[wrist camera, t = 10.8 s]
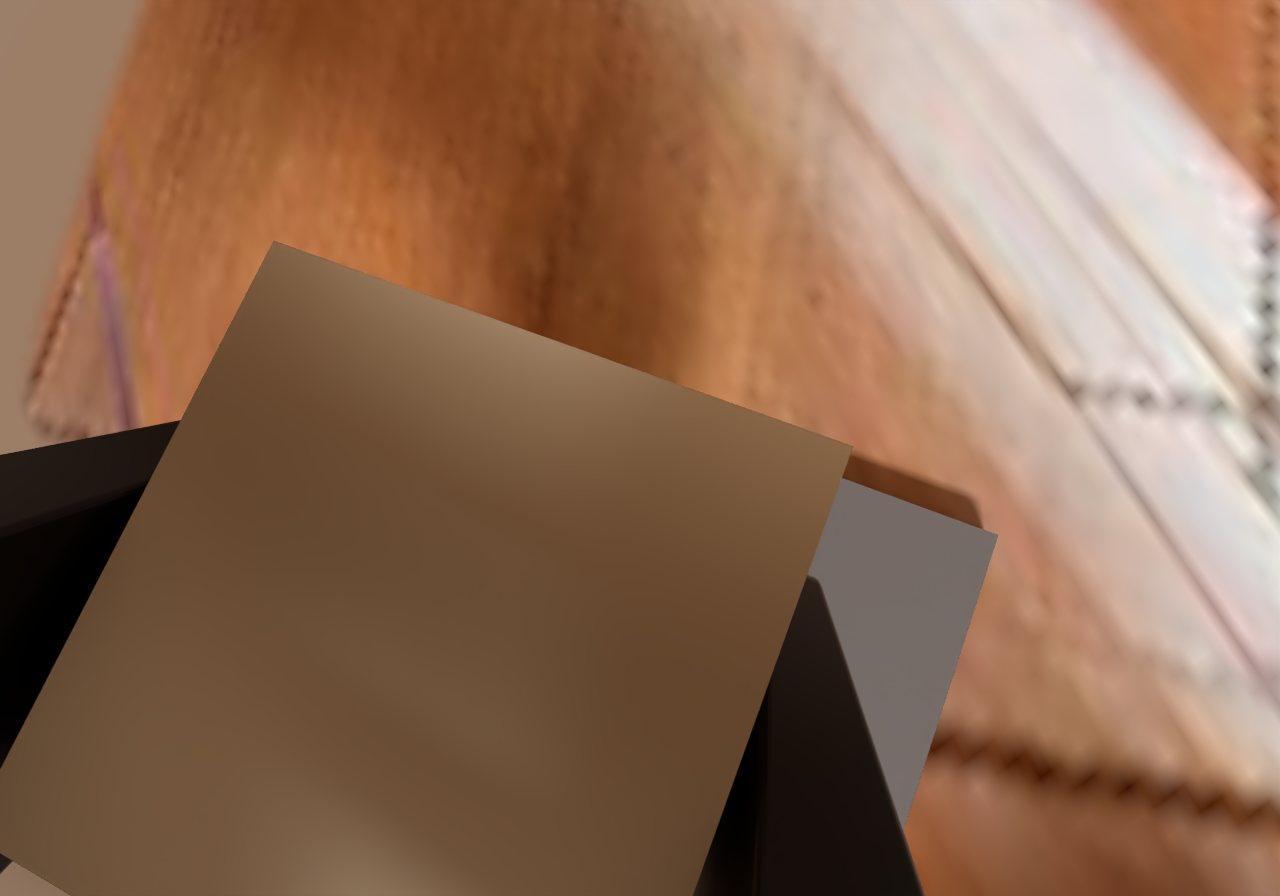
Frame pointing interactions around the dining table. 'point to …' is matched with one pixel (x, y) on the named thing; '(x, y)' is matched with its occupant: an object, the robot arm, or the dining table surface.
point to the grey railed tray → (900, 616)
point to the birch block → (420, 618)
